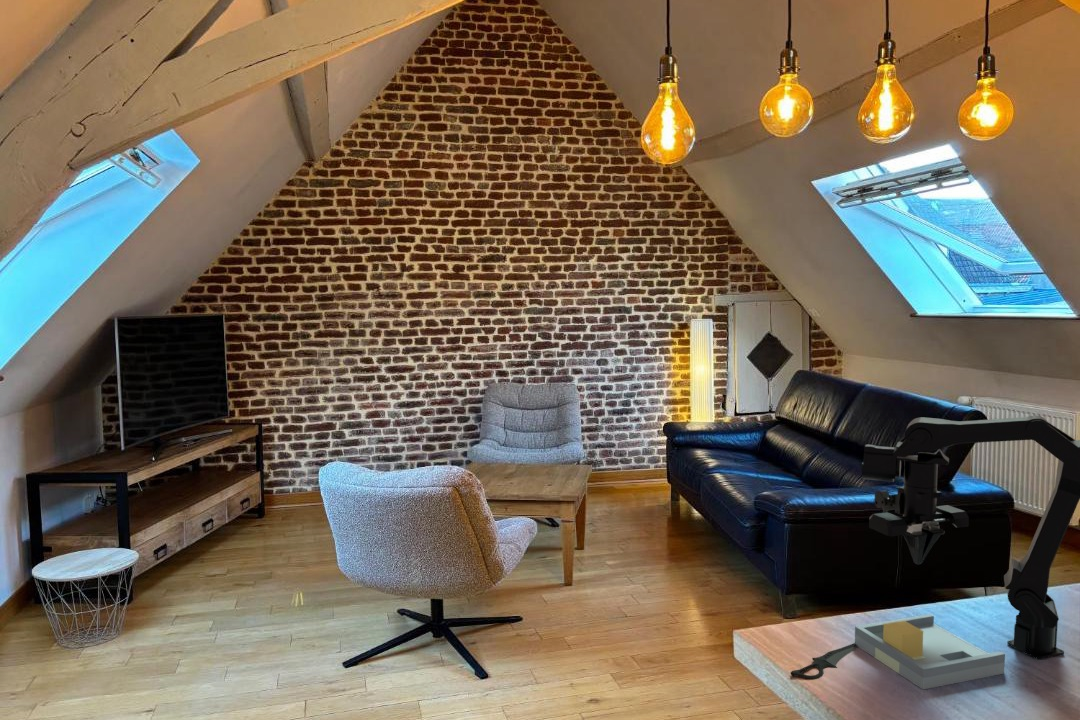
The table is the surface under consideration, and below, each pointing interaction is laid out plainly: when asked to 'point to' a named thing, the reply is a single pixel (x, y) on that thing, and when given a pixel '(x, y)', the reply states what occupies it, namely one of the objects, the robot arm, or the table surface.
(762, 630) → the table surface
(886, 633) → the block
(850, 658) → the table surface
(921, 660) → the tray
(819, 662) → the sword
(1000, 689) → the table surface
